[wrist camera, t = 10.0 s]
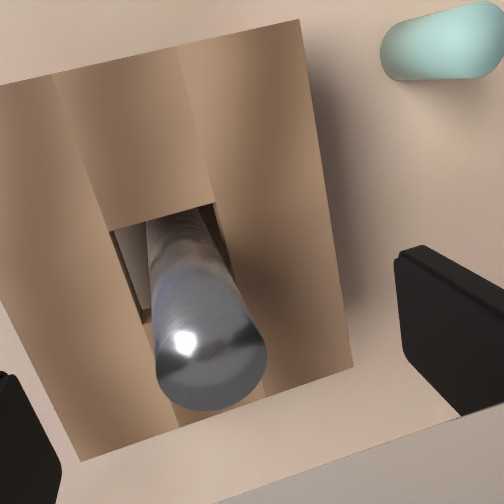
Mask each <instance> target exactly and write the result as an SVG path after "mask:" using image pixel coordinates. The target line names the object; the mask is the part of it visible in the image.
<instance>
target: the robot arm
mask: <svg viewBox="0 0 504 504" xmlns="http://www.w3.org/2000/svg"><path fill="white" fill-rule="evenodd" d="M394 274H395V283H396V292H397V302H398V311H399V320H400V330H401V339H402V348H403V352H404V354H405V357H406V358H407V360H408V361H409V362H410V363H411V365H412V366H413V367H414V368H415V369H416V370H417V371H418V372H419V373H420V374H421V375H422V376H423V377H424V378H425V379H426V380H427V381H428V382H429V383H430V384H431V385H432V386H433V387H434V389H435V390H436V391H437V392H438V393H439V394H440V395H441V396H442V397H443V398H444V399H445V400H446V401H447V402H448V403H449V404H450V405H451V406H452V407H453V408H454V409H455V410H456V411H457V412H458V414H459V415H460V416H461V417H458V418H456V419H453V420H450V421H447V422H444V423H441V424H438V425H435V426H433V427H430V428H427V429H424V430H421V431H418V432H415V433H412V434H410V435H407V436H404V437H401V438H398V439H395V440H392V441H389V442H387V443H384V444H381V445H378V446H375V447H372V448H370V449H367V450H364V451H361V452H358V453H355V454H353V455H350V456H347V457H344V458H341V459H338V460H336V461H333V462H330V463H327V464H324V465H322V466H319V467H316V468H313V469H310V470H307V471H305V472H302V473H299V474H296V475H293V476H290V477H288V478H285V479H282V480H279V481H276V482H273V483H271V484H268V485H265V486H262V487H259V488H256V489H254V490H251V491H248V492H245V493H242V494H240V495H237V496H234V497H231V498H228V499H225V500H223V501H220V502H217V503H214V504H504V289H502V288H500V287H499V286H497V285H495V284H493V283H491V282H490V281H488V280H486V279H484V278H482V277H481V276H479V275H477V274H475V273H473V272H472V271H470V270H468V269H466V268H464V267H463V266H461V265H459V264H457V263H455V262H454V261H452V260H450V259H448V258H446V257H445V256H443V255H441V254H439V253H437V252H436V251H434V250H432V249H430V248H428V247H427V246H425V245H420V246H417V247H413V248H410V249H407V250H403V251H401V252H400V253H399V257H398V258H396V259H395V260H394ZM61 476H62V469H61V463H60V461H59V458H58V456H57V454H56V452H55V450H54V448H53V447H52V445H51V443H50V441H49V439H48V437H47V435H46V433H45V431H44V429H43V427H42V425H41V423H40V421H39V419H38V417H37V415H36V413H35V411H34V409H33V407H32V405H31V404H30V402H29V400H28V398H27V396H26V394H25V392H24V390H23V388H22V386H21V384H20V382H19V380H18V378H17V377H16V376H15V375H13V374H11V375H8V374H7V373H5V372H4V371H0V504H55V503H56V499H57V494H58V490H59V486H60V481H61Z"/></svg>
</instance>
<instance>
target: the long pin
mask: <svg viewBox="0 0 504 504" xmlns="http://www.w3.org/2000/svg"><path fill="white" fill-rule="evenodd" d="M146 235H147V250H148V265H149V280H150V294H151V309H152V324H153V339H154V354H155V368H156V377H157V381H158V384H159V386H160V388H161V390H162V391H163V393H164V394H165V395H166V396H167V397H168V398H169V399H170V400H171V401H172V402H174V403H175V404H177V405H179V406H181V407H183V408H186V409H190V410H194V411H215V410H220V409H223V408H227V407H229V406H231V405H234V404H236V403H237V402H239V401H241V400H242V399H244V398H245V397H246V396H247V395H249V394H250V393H251V392H252V391H253V390H254V389H255V387H256V386H257V385H258V383H259V382H260V380H261V378H262V376H263V374H264V372H265V368H266V364H267V350H266V345H265V342H264V340H263V338H262V336H261V334H260V332H259V330H258V328H257V326H256V324H255V322H254V320H253V318H252V316H251V314H250V312H249V310H248V308H247V306H246V304H245V302H244V300H243V298H242V296H241V294H240V292H239V290H238V288H237V286H236V284H235V282H234V280H233V278H232V276H231V274H230V272H229V270H228V268H227V266H226V264H225V262H224V260H223V258H222V256H221V254H220V253H219V251H218V249H217V247H216V245H215V243H214V241H213V239H212V237H211V235H210V233H209V231H208V229H207V227H206V225H205V223H204V221H203V219H202V217H201V215H200V213H199V211H198V209H197V207H195V208H192V209H188V210H185V211H181V212H178V213H174V214H170V215H167V216H163V217H160V218H156V219H152V220H149V221H146Z"/></svg>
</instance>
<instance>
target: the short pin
mask: <svg viewBox="0 0 504 504" xmlns="http://www.w3.org/2000/svg"><path fill="white" fill-rule="evenodd" d="M503 56H504V13H503V11H502V10H501V9H500V8H499V7H498V6H497V5H495V4H493V3H491V2H486V1H482V2H476V3H472V4H469V5H465V6H461V7H457V8H453V9H449V10H445V11H442V12H438V13H434V14H430V15H426V16H422V17H418V18H414V19H411V20H407V21H403V22H400V23H398V24H396V25H394V26H393V27H392V28H391V29H390V30H389V31H388V32H387V33H386V35H385V37H384V39H383V41H382V44H381V49H380V59H381V64H382V67H383V69H384V70H385V72H386V73H387V74H388V75H389V76H390V77H391V78H393V79H395V80H399V81H410V80H438V79H466V78H479V77H482V76H485V75H487V74H488V73H490V72H491V71H492V70H493V69H494V68H495V67H496V66H497V65H498V64H499V62H500V61H501V59H502V58H503Z"/></svg>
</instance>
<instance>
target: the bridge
mask: <svg viewBox="0 0 504 504" xmlns="http://www.w3.org/2000/svg"><path fill="white" fill-rule="evenodd" d="M210 203H213V207H214V211H215V214H216V218H217V222H218V226H219V230H220V234H221V238H222V241H223V245H224V249H225V253H226V257H227V261H228V264H229V268H230V272H231V276H232V278H233V280H234V282H235V284H236V286H237V288H238V290H239V292H240V294H241V296H242V298H243V300H244V302H245V304H246V306H247V308H248V310H249V312H250V314H251V316H252V318H253V320H254V322H255V324H256V326H257V328H258V330H259V332H260V334H261V336H262V338H263V340H264V342H265V345H266V350H267V364H266V368H265V372H264V374H263V376H262V378H261V380H260V382H259V383H258V385H257V386H256V387H255V389H254V390H253V391H252V392H251V393H250V394H249V395H247V396H246V397H245V398H244V399H242V400H241V401H239V402H237V403H236V404H234V405H231V406H229V407H227V408H223V409H220V410H215V411H194V410H190V409H186V408H183V407H181V406H179V405H177V404H175V403H174V402H172V401H171V400H170V399H169V398H168V397H167V396H166V395H165V394H164V393H163V391H162V390H161V388H160V386H159V384H158V381H157V377H156V368H155V354H154V339H153V324H152V309H151V308H149V309H146V310H142V309H141V306H140V304H139V301H138V298H137V295H136V292H135V290H134V287H133V284H132V281H131V278H130V276H129V273H128V270H127V267H126V265H125V262H124V259H123V256H122V253H121V251H120V248H119V245H118V242H117V239H116V237H115V234H114V231H113V230H116V229H120V228H124V227H127V226H131V225H134V224H138V223H142V222H145V221H149V220H152V219H156V218H160V217H163V216H167V215H170V214H174V213H178V212H181V211H185V210H188V209H192V208H195V207H199V206H203V205H206V204H210ZM0 300H1V302H2V304H3V306H4V308H5V310H6V312H7V314H8V316H9V318H10V320H11V322H12V324H13V326H14V328H15V330H16V332H17V334H18V336H19V338H20V340H21V342H22V344H23V346H24V348H25V350H26V352H27V354H28V356H29V358H30V360H31V362H32V364H33V366H34V368H35V370H36V372H37V374H38V376H39V378H40V380H41V382H42V384H43V386H44V388H45V390H46V392H47V394H48V396H49V399H50V401H51V403H52V405H53V407H54V409H55V411H56V413H57V415H58V417H59V419H60V421H61V423H62V425H63V427H64V429H65V431H66V433H67V435H68V437H69V439H70V441H71V443H72V445H73V447H74V449H75V451H76V453H77V455H78V457H79V459H80V461H81V462H83V461H86V460H88V459H91V458H94V457H97V456H100V455H103V454H106V453H108V452H111V451H114V450H117V449H120V448H123V447H126V446H128V445H131V444H134V443H137V442H140V441H143V440H146V439H149V438H151V437H154V436H157V435H160V434H163V433H166V432H169V431H171V430H174V429H177V428H180V427H183V426H186V425H189V424H191V423H194V422H197V421H200V420H203V419H206V418H209V417H212V416H214V415H217V414H220V413H223V412H226V411H229V410H232V409H234V408H237V407H240V406H243V405H246V404H249V403H252V402H254V401H257V400H260V399H263V398H266V397H269V396H272V395H275V394H277V393H280V392H283V391H286V390H289V389H292V388H295V387H297V386H300V385H303V384H306V383H309V382H312V381H315V380H317V379H320V378H323V377H326V376H329V375H332V374H335V373H338V372H340V371H343V370H346V369H349V368H352V367H353V362H352V355H351V349H350V343H349V336H348V330H347V323H346V317H345V310H344V304H343V297H342V291H341V285H340V278H339V272H338V265H337V259H336V252H335V246H334V239H333V233H332V227H331V220H330V214H329V207H328V201H327V194H326V188H325V182H324V175H323V169H322V162H321V156H320V149H319V143H318V136H317V130H316V124H315V117H314V111H313V104H312V98H311V91H310V85H309V79H308V72H307V66H306V59H305V53H304V46H303V40H302V33H301V27H300V21H299V19H296V20H292V21H288V22H283V23H279V24H274V25H270V26H265V27H261V28H256V29H252V30H247V31H243V32H238V33H234V34H229V35H225V36H220V37H216V38H211V39H207V40H202V41H198V42H193V43H189V44H184V45H180V46H175V47H171V48H166V49H162V50H158V51H153V52H149V53H144V54H140V55H135V56H131V57H126V58H122V59H117V60H113V61H108V62H104V63H99V64H95V65H90V66H86V67H81V68H77V69H72V70H68V71H63V72H59V73H54V74H50V75H45V76H41V77H37V78H32V79H28V80H23V81H19V82H14V83H10V84H5V85H1V86H0Z"/></svg>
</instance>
